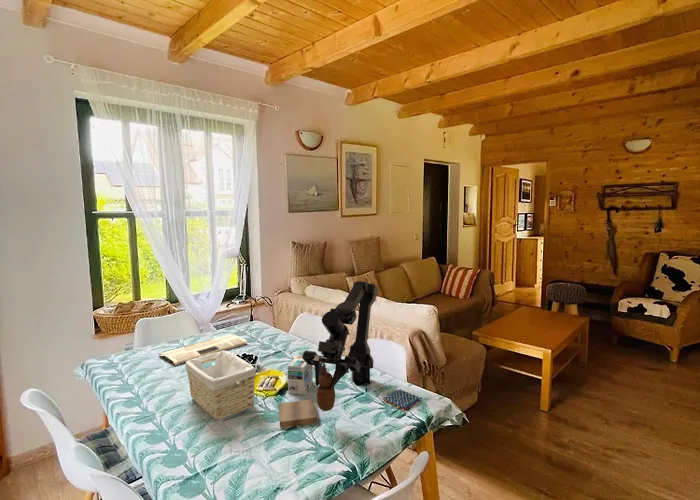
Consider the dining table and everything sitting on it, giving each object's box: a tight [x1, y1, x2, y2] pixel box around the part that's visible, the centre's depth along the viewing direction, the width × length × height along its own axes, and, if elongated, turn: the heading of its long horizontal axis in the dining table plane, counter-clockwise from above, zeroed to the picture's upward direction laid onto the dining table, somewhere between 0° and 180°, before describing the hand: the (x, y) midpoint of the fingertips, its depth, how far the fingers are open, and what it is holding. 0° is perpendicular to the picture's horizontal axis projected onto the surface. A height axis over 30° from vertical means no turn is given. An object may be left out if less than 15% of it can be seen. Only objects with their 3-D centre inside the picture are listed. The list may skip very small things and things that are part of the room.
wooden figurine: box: [316, 360, 336, 412], centre depth 123 cm, size 7×6×15 cm
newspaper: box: [158, 333, 248, 366], centre depth 193 cm, size 37×19×3 cm, turn 137°
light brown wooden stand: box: [277, 398, 319, 429], centre depth 130 cm, size 12×12×2 cm
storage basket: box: [185, 350, 256, 421], centre depth 139 cm, size 24×16×15 cm
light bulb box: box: [287, 355, 314, 396], centre depth 150 cm, size 11×7×11 cm, turn 168°
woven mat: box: [382, 389, 422, 412], centre depth 139 cm, size 10×11×2 cm
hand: (323, 387), depth 122 cm, fingers closed on wooden figurine, 5 cm apart
